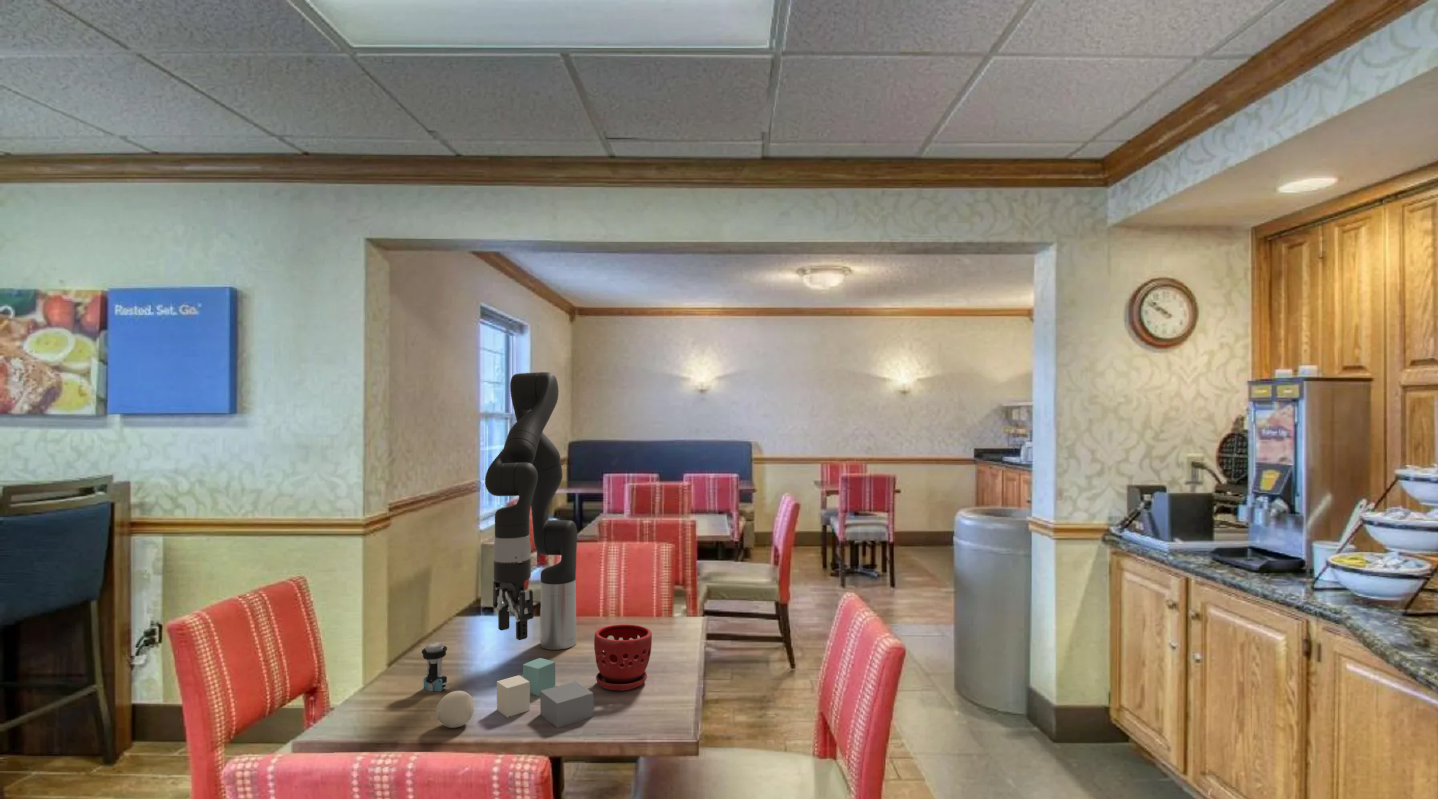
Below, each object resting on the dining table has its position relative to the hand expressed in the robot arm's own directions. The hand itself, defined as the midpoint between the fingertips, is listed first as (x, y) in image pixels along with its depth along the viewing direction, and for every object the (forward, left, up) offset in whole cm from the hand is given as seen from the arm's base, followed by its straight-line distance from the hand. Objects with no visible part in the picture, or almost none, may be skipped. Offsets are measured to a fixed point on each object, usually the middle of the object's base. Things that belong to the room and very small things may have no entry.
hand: (512, 634), depth 147 cm
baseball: (-1, -12, -16) cm, 20 cm away
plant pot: (+4, +25, -16) cm, 30 cm away
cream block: (0, 0, -16) cm, 16 cm away
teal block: (-6, +9, -16) cm, 19 cm away
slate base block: (+10, +7, -16) cm, 20 cm away
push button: (-22, -8, -16) cm, 28 cm away
